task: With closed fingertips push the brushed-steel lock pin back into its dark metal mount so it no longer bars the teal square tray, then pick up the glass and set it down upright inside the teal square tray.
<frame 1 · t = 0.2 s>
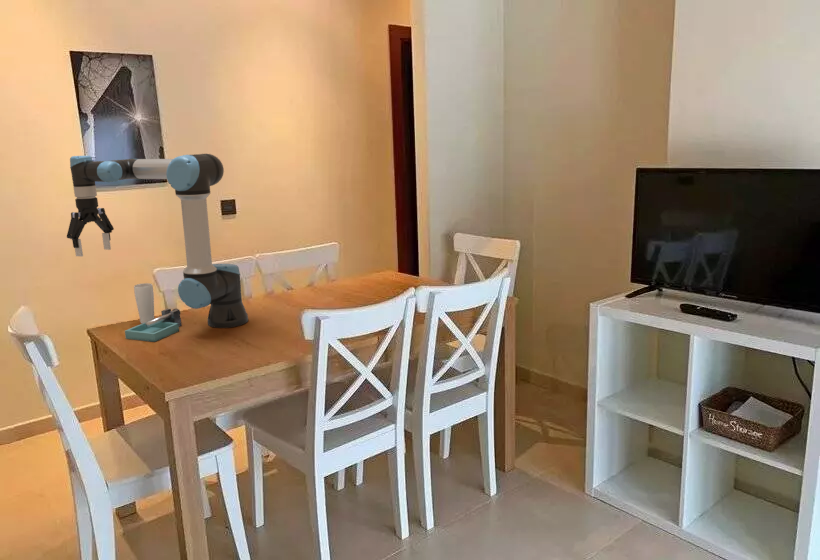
hand: (93, 252, 246), 28 cm above the table, fingers open, 13 cm apart
lock pin: (162, 318, 240), point 5 cm above the table, slide at 0.0 cm
teal square tray: (152, 334, 235), on the table
pin mount: (172, 326, 245), on the table
drinking glass: (147, 322, 251), on the table
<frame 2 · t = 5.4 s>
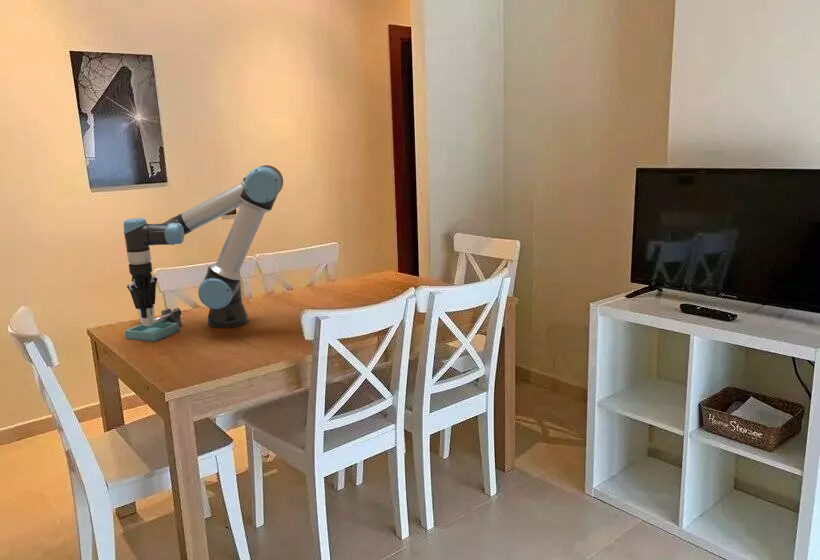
hand: (148, 325, 232), 4 cm above the table, fingers closed
lock pin: (163, 317, 240), point 5 cm above the table, slide at 0.6 cm, touching gripper
everything else where it was.
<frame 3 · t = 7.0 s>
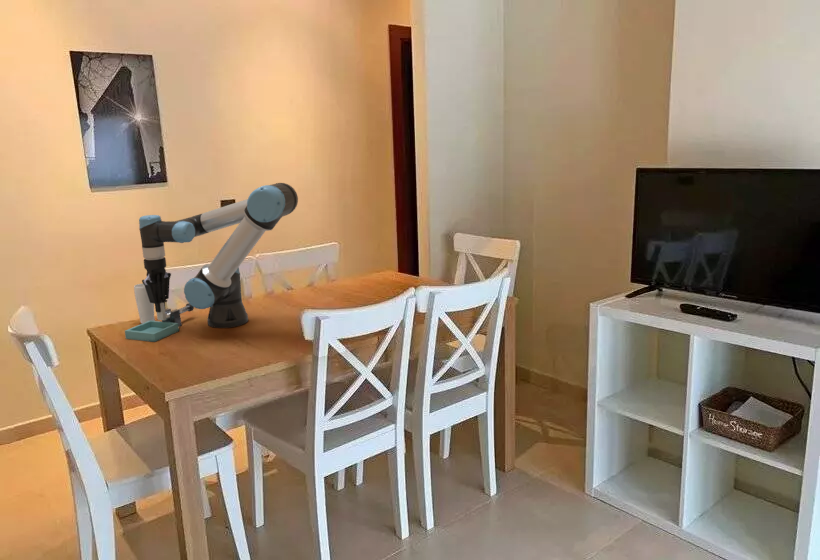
hand: (161, 319, 239), 4 cm above the table, fingers closed
lock pin: (177, 312, 247), point 5 cm above the table, slide at 8.0 cm, touching gripper
everything else where it was.
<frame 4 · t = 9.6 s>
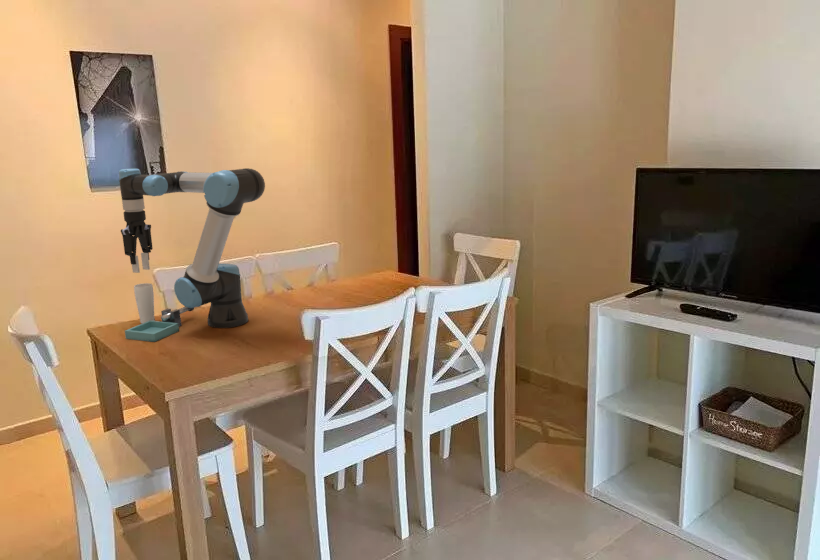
hand: (141, 270, 246), 21 cm above the table, fingers open, 5 cm apart
lock pin: (177, 312, 247), point 5 cm above the table, slide at 8.2 cm
everything else where it was.
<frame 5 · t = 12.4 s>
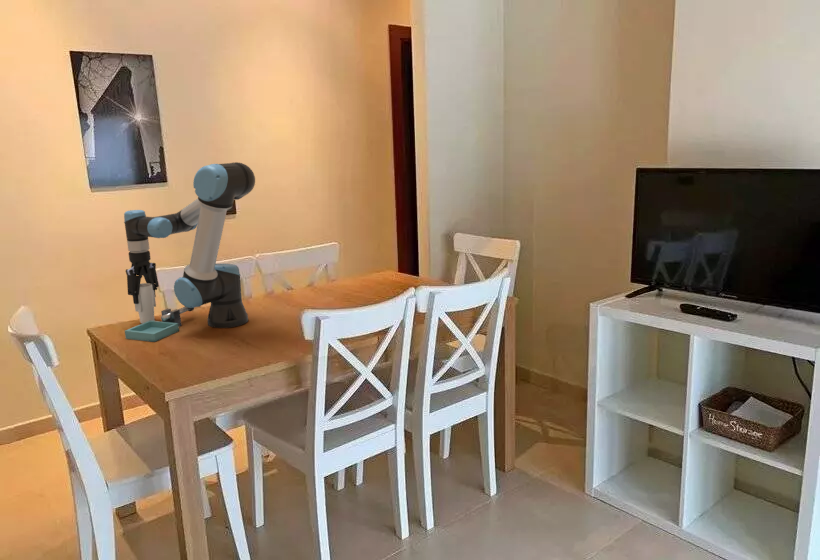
hand: (145, 308, 249), 6 cm above the table, fingers closed on drinking glass, 7 cm apart
drinking glass: (147, 322, 251), on the table, touching gripper
everything else where it was.
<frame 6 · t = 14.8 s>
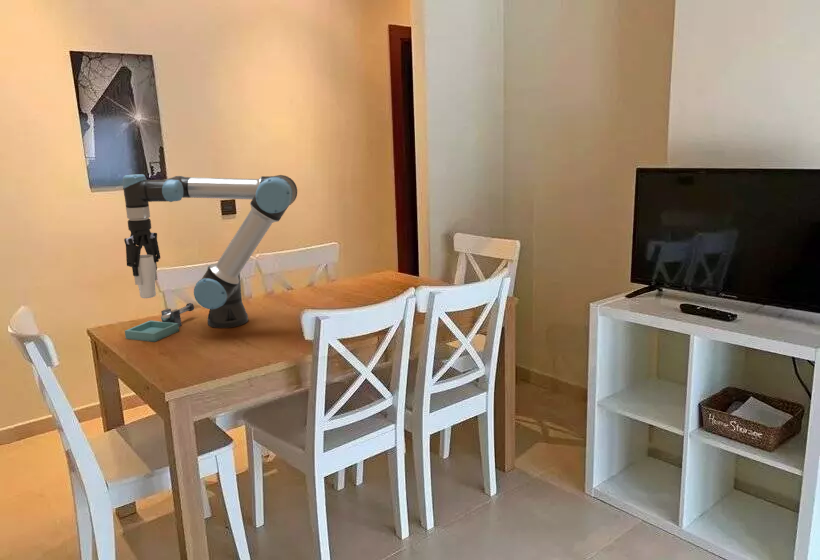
hand: (146, 282, 231), 20 cm above the table, fingers closed on drinking glass, 7 cm apart
drinking glass: (148, 297, 232), point 14 cm above the table, touching gripper
everything else where it was.
when the fingers open (8 cm above the table, at t = 17.4 s): drinking glass drops 2 cm, resting on teal square tray.
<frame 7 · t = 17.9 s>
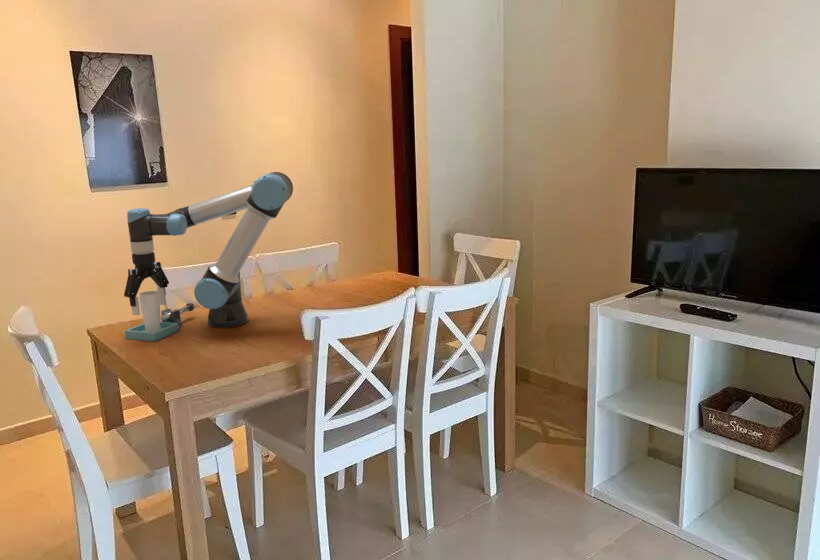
hand: (149, 309, 233), 10 cm above the table, fingers open, 13 cm apart
drinking glass: (153, 332, 236), point 1 cm above the table, touching teal square tray
everything else where it was.
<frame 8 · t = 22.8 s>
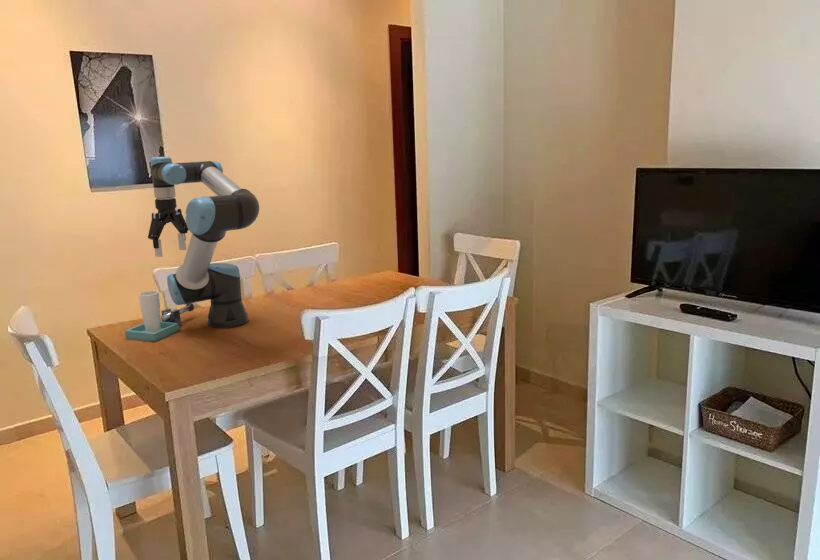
hand: (171, 253, 248), 27 cm above the table, fingers open, 13 cm apart
nothing on the table moved.
at the end: lock pin slide at 8.2 cm; drinking glass 0.4 cm off-centre on the teal square tray, point 0.6 cm above the teal square tray's base; drinking glass tilted 0° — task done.
